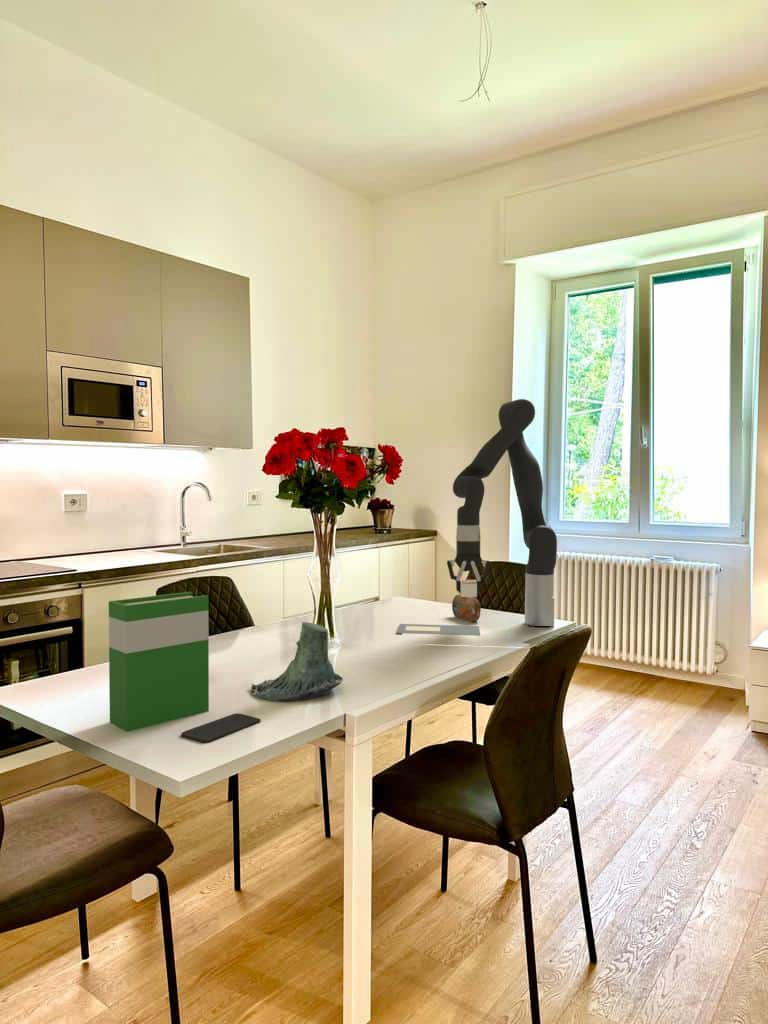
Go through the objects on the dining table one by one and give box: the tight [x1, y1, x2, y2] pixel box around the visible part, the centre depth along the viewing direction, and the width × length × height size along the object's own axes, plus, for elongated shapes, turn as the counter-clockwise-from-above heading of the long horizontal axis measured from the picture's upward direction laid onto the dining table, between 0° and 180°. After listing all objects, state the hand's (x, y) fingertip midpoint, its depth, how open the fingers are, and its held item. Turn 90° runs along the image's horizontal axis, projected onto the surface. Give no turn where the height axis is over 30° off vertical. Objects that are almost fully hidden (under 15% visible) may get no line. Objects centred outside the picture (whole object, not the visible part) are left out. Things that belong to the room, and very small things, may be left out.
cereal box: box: [108, 591, 210, 733], centre depth 144 cm, size 18×7×24 cm, turn 135°
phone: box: [180, 713, 262, 744], centre depth 138 cm, size 7×1×15 cm
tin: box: [451, 594, 482, 623], centre depth 246 cm, size 15×3×8 cm, turn 25°
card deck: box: [459, 579, 478, 598], centre depth 226 cm, size 5×9×4 cm, turn 175°
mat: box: [395, 623, 481, 637], centre depth 228 cm, size 26×14×1 cm, turn 84°
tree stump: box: [250, 621, 343, 703], centre depth 163 cm, size 18×20×18 cm
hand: (468, 592), depth 226 cm, fingers closed on card deck, 5 cm apart
